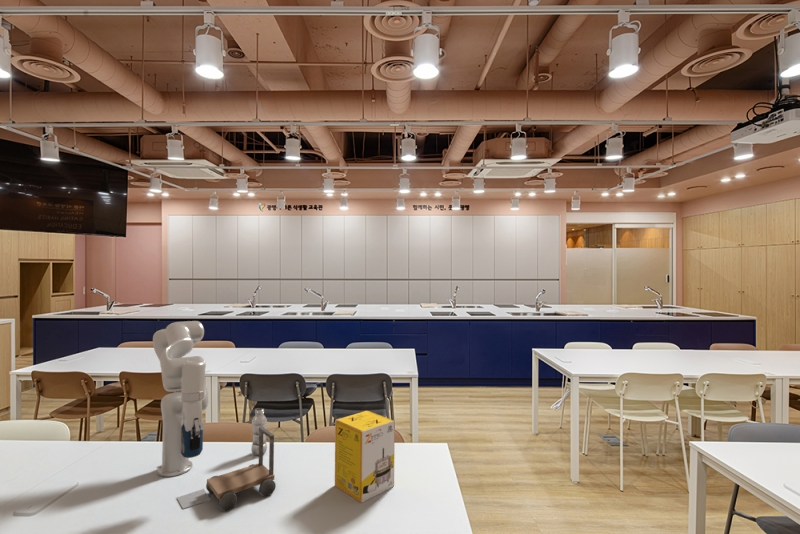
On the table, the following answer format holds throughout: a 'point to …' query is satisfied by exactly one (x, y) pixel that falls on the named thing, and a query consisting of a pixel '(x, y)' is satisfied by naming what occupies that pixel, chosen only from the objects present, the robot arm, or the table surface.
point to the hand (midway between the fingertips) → (192, 445)
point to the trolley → (245, 477)
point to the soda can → (186, 441)
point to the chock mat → (193, 498)
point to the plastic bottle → (258, 422)
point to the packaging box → (364, 454)
